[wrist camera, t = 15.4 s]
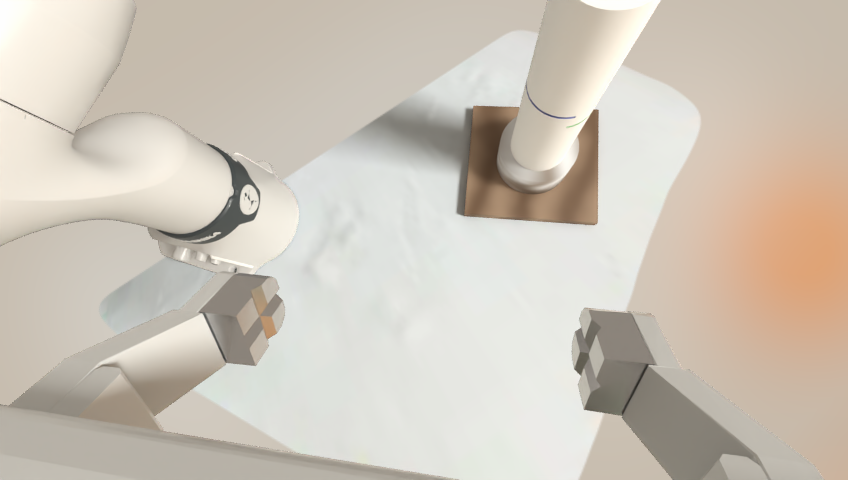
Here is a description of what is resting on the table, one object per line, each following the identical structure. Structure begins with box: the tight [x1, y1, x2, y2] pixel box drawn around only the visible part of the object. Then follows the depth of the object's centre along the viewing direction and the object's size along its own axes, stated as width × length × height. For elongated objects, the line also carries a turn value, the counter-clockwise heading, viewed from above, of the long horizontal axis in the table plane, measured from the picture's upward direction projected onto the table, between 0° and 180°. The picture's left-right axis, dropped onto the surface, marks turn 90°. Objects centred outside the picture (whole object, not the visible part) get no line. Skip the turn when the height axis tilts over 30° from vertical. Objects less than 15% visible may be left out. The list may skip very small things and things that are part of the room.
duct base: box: [464, 106, 598, 225], centre depth 50 cm, size 18×17×6 cm
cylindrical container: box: [510, 0, 660, 171], centre depth 35 cm, size 7×7×25 cm
